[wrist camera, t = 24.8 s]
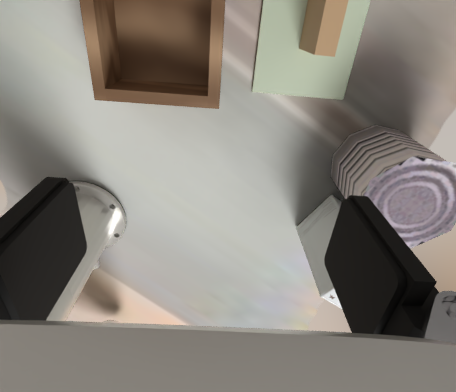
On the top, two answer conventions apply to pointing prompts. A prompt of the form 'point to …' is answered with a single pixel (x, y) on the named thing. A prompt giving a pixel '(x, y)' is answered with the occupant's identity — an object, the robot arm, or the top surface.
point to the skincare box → (320, 244)
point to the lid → (308, 46)
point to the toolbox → (155, 50)
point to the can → (398, 181)
